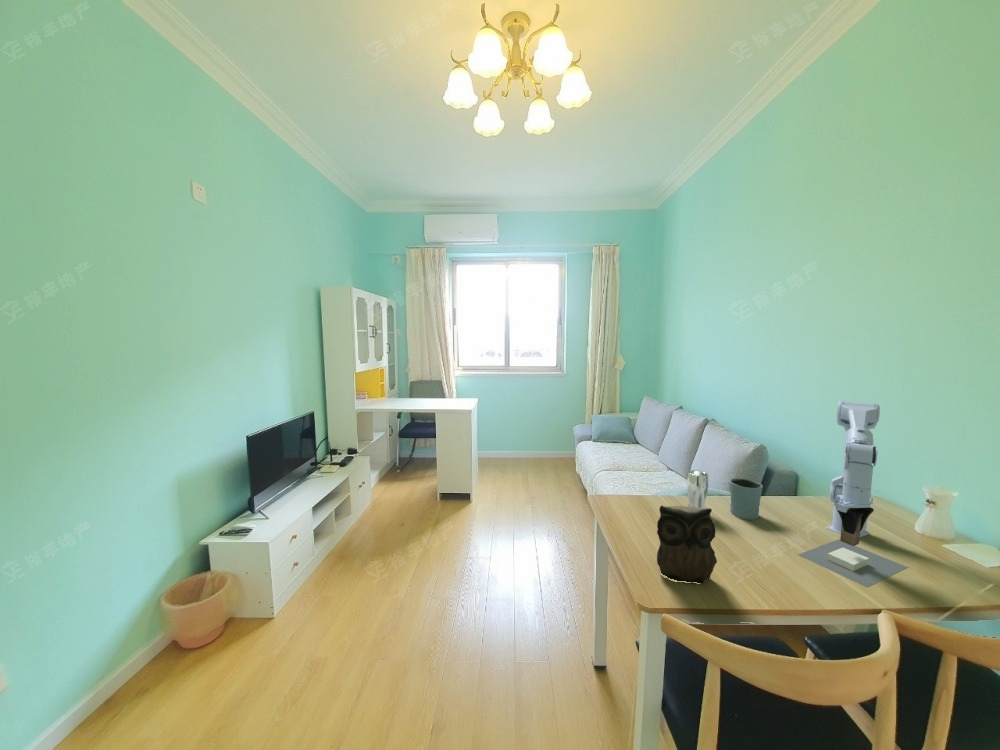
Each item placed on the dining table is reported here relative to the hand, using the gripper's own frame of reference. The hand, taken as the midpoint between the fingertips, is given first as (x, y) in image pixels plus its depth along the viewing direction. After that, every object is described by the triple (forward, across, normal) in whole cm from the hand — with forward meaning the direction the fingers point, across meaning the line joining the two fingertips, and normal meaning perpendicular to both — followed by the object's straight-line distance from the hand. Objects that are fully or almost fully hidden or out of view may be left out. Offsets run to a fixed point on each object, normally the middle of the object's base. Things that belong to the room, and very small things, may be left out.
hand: (852, 531), depth 107 cm
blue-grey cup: (+10, -2, -32) cm, 34 cm away
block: (+4, 0, 0) cm, 4 cm away
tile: (+8, -3, 0) cm, 9 cm away
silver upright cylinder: (+10, +13, -40) cm, 43 cm away
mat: (+10, -1, 0) cm, 10 cm away
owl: (+10, +48, -16) cm, 52 cm away
